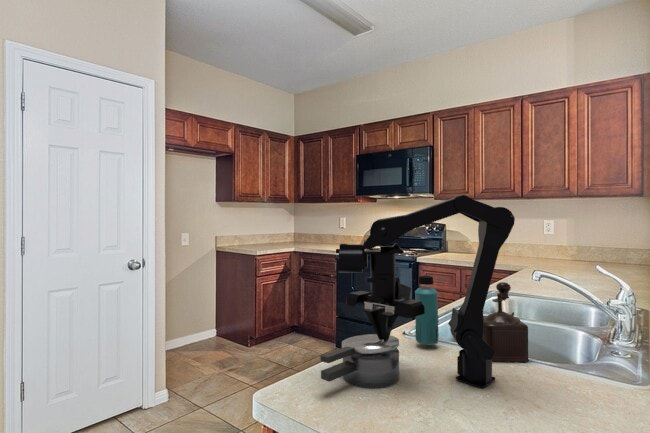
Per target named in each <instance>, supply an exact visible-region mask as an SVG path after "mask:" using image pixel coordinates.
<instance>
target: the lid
mask: <svg viewBox="0 0 650 433" xmlns="http://www.w3.org/2000/svg"><path fill="white" fill-rule="evenodd" d="M398 347H400V340H399V338H398V337H396V336H393V335H390V336H389V339H388V341H384V339H383V340H379V338H378V336H377V334H376V333H373V334H372V333H371V334H360V335H355V336H350V337H347V338H346V339H344V340H342V341H341V347H340V348H337V349H335V350H332V351H329V352H327V353H323V354H320V355H319V356H320V362H322V363H326V364H330V363H333V362H336V361H339V360H343V358H344V357H347V356H350V355H352V354H355V353H357V354H375V353H383V352H388V351H391V350H394V349H396V348H397V349H398Z"/></svg>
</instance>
